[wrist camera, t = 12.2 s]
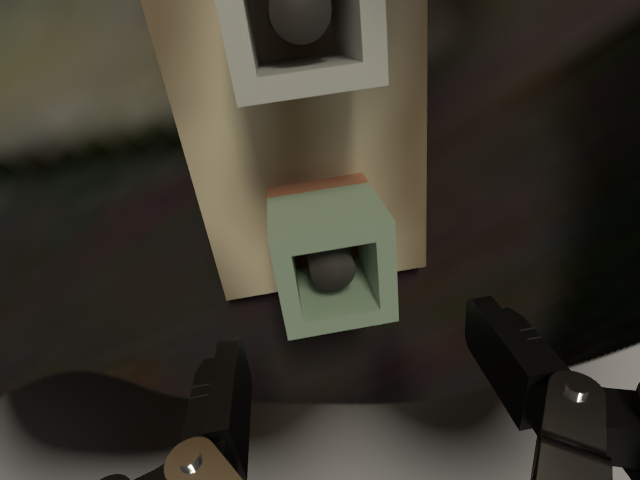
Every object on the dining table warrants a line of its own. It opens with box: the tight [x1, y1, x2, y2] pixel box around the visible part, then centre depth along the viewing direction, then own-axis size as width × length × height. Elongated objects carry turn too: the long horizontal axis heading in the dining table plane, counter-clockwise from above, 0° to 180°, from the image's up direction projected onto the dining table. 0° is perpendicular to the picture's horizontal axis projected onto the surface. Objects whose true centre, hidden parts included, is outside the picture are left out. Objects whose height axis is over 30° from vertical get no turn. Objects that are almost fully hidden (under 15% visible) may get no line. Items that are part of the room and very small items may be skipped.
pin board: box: [140, 0, 428, 300], centre depth 18 cm, size 12×18×6 cm, turn 7°
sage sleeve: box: [267, 173, 399, 341], centre depth 19 cm, size 5×5×6 cm
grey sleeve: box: [215, 0, 389, 108], centre depth 15 cm, size 5×5×6 cm
